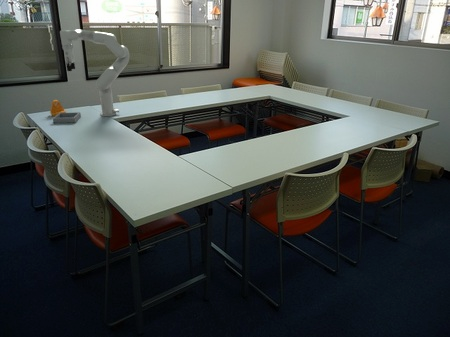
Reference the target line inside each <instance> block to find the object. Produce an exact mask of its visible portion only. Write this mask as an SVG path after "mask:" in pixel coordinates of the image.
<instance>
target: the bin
mask: <svg viewBox="0 0 450 337" xmlns="http://www.w3.org/2000/svg"><path fill="white" fill-rule="evenodd" d="M81 118H82V114H81V112H78V111H77V112H75V111H74V112H72V111H71V112H66V113H59V114H57V115H56V116H53V118H52V123H53V124H77V123H78V121H80V119H81Z"/></svg>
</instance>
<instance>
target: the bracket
mask: <svg viewBox="0 0 450 337" xmlns="http://www.w3.org/2000/svg"><path fill="white" fill-rule="evenodd" d="M49 113H50V115H51V116H53V117H55V116H56V115H57V114H59V113H67V111H66V110H65V108H64V107H63V106H62V104H61V102H60V100H57V99H54V100H52V101H51V106H50V111H49Z"/></svg>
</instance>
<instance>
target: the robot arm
mask: <svg viewBox="0 0 450 337" xmlns="http://www.w3.org/2000/svg"><path fill="white" fill-rule="evenodd" d="M59 35H60V40H61V42H60V43H61V46H62V47H61V48H62V50H63V54H64V60H65V65H66V66H65V67H66V71H67V72H72V70H75V69H76V65H75V62H76V57H75V52H74V46H73V41H79V40H81V41H88V42H92V43H93V44H98V45H105V46H106V47H107V48H108V50H110V51H111V53H113V55H114V56H115V57H116V59H115V61H114V62H113V63H112V64H111V65H110V66H109V67H107V68H106V69H105V71H104V72H102V73H101V75H100V76H99V77H98V78H97V79H96V81H95V87H96V88H97V90H98V91H99V99H100V106H101V113H100V116H102V117H112V116H113V117H114V116H115V115H117V113H120V110H119V109H115V107H114V101H113V100H114V99H113V91H112V83H113V82H115V80H116V79H117V78H118V77H119V75H120V74H121V73H122V72H123V70H124V69H125V68H126V66H127V65H128V64H129V62H130V55H131V54H130V51H129V48H128V47H127V46H125V45H121V44H120V43H119V42H118V40H117V39H118V38H117V36H116V35H115V34H113V33H108V32H101V31H93V30H87V29H86V30H85V29H71V30H69V29H62V30H60V31H59Z"/></svg>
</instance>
